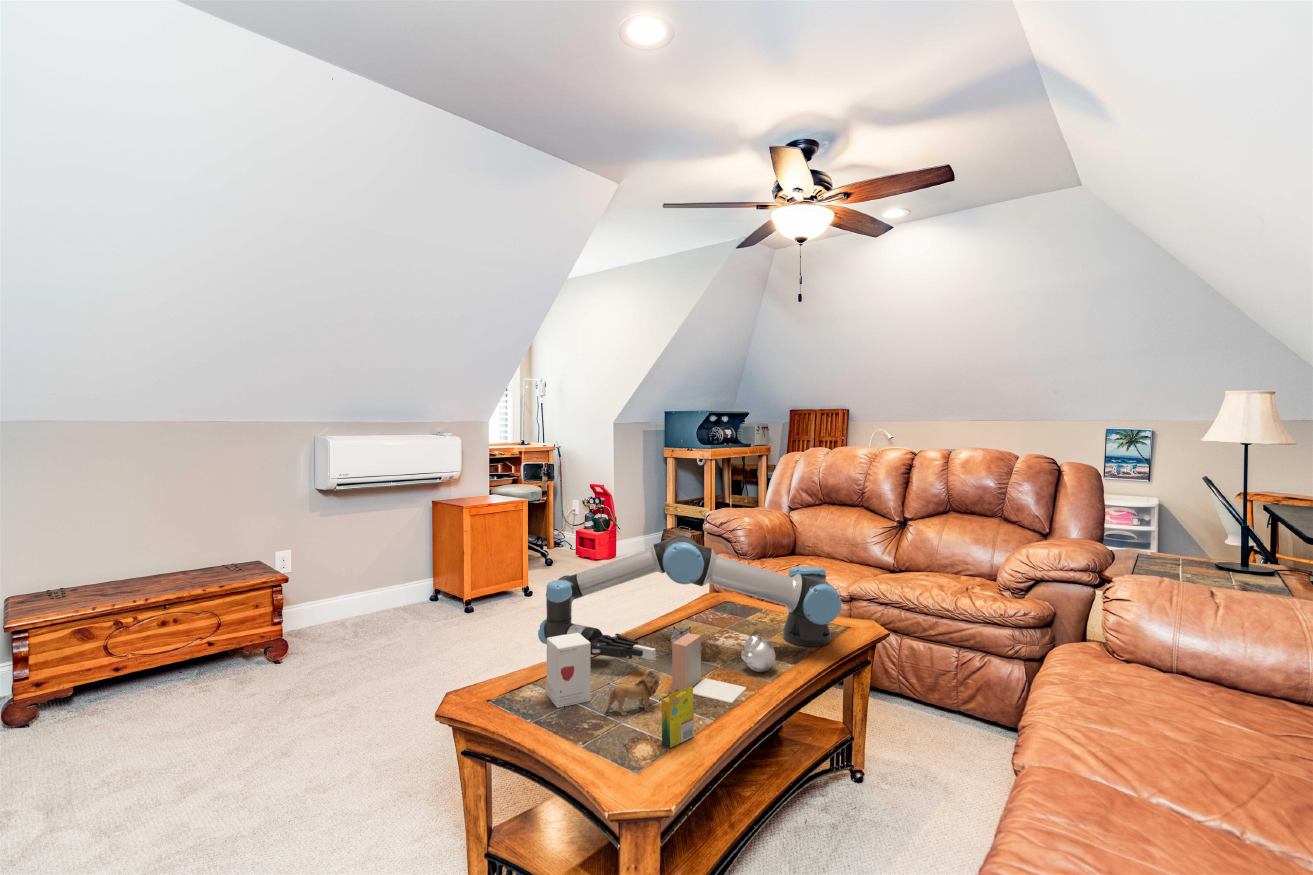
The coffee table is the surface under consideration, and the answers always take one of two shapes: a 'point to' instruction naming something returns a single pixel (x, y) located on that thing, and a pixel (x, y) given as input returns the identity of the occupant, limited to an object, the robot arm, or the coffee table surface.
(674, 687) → the peach rectangular block
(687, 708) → the crayon box
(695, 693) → the felt mat
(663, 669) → the coffee table surface
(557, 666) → the supplement box
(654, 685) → the lion figurine
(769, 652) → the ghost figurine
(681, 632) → the game die
